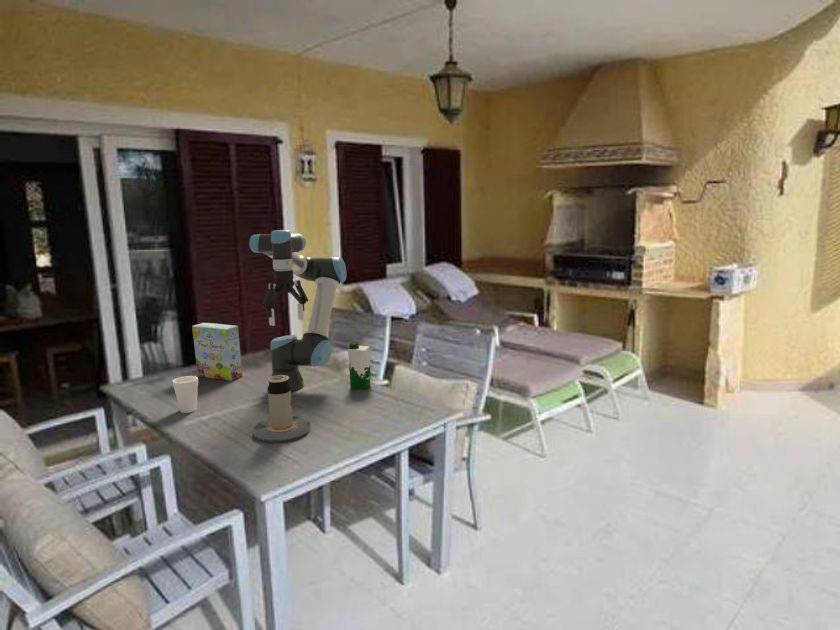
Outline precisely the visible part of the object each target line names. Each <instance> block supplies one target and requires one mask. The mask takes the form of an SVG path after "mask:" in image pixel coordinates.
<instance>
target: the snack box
mask: <svg viewBox="0 0 840 630" xmlns="http://www.w3.org/2000/svg"><path fill="white" fill-rule="evenodd" d="M191 327H192V328H191V329H192V336H193V337H192V338H193V346H194V355H195V363H196V373H197V377H201V378H207V379H208V378H209V379H213V380H214V379H215V380H223V381H228V382H229V381H230V382H232V381H235V380H237V379H240V378H242V377H243V372H242V371H243V370H242V369H243V368H242V357H241V347H240V346H241V345H240V335H239V325H234V324H233V325H232V324H223V323H211V322H201V323H199V324H194V325H192V326H191Z"/></svg>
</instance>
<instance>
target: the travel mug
mask: <svg viewBox="0 0 840 630" xmlns="http://www.w3.org/2000/svg"><path fill="white" fill-rule="evenodd" d="M288 379H289V377H288V376H286V375H276V376H272V377H271V376H269V377H268V378H267V381H268V386H267V396H268V397H267V398H268V413H269V419H270V425H271V427H272V428H274V429H285V428H288V427H290V426H292V425H293V416H294V415H293V404H292V391H291V387H290V384H289V383H288Z"/></svg>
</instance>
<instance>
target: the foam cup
mask: <svg viewBox="0 0 840 630" xmlns="http://www.w3.org/2000/svg"><path fill="white" fill-rule="evenodd" d="M198 377H199V376H195V375H188V376H187V375H186V376H184V375H183V376H179V377H177V378H176V377H175V378H174V379H173V380H172V387H173V389H174V393H175V398H176V400H177V405H178V408H179V411H180V413H181V414H182V413H183V414H188V413H193V412H196V411H197V410H198V390H199V389H198V388H199V387H198V386H199V378H198Z"/></svg>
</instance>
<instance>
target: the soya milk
mask: <svg viewBox="0 0 840 630" xmlns="http://www.w3.org/2000/svg"><path fill="white" fill-rule="evenodd" d="M347 353H348V354H347V355H348V367H349V369H348V371H349V384H350V389H356V390H358V389H359V390H366V389H368V387H369V386H370V385H371V354H370V346H369V345H368V346H367V345H360V344H359V342H349V348H348V349H347Z"/></svg>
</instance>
